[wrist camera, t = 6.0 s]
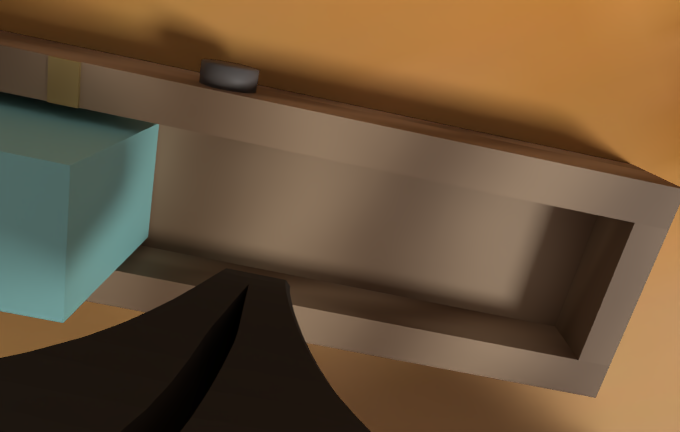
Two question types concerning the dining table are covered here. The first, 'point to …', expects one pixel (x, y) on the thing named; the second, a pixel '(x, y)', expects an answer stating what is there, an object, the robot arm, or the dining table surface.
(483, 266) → the wooden tray
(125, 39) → the dining table surface
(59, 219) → the teal block
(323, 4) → the dining table surface
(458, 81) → the dining table surface
